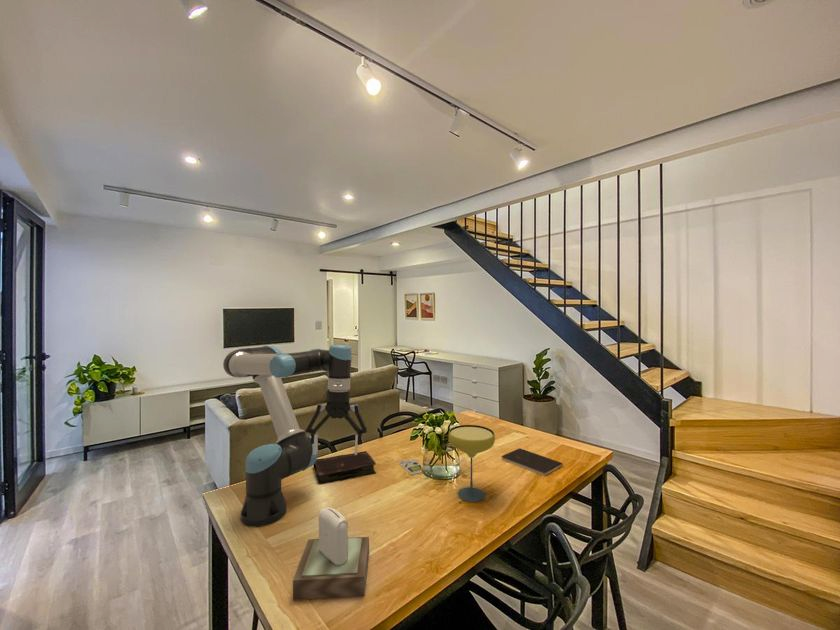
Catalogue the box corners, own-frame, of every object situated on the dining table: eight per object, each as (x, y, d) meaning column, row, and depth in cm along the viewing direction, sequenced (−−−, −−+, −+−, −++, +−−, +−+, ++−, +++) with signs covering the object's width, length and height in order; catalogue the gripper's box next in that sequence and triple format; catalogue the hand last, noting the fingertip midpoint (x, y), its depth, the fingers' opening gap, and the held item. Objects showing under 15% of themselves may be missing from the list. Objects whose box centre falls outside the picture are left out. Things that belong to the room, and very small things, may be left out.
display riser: (293, 599, 90) (292, 578, 90) (308, 555, 106) (308, 538, 106) (364, 595, 92) (364, 575, 91) (369, 553, 107) (369, 535, 107)
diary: (313, 469, 165) (313, 458, 165) (365, 459, 175) (365, 449, 175) (319, 486, 148) (319, 474, 148) (377, 475, 158) (376, 464, 158)
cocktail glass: (502, 504, 134) (502, 438, 134) (456, 510, 130) (456, 442, 130) (483, 481, 152) (484, 423, 151) (443, 486, 148) (443, 426, 147)
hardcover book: (544, 477, 156) (544, 472, 156) (501, 460, 174) (501, 456, 174) (562, 467, 166) (562, 462, 166) (520, 452, 184) (520, 447, 184)
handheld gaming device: (413, 457, 175) (428, 469, 162) (413, 459, 175) (428, 471, 162) (397, 461, 171) (411, 474, 158) (397, 463, 171) (411, 475, 158)
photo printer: (316, 550, 101) (316, 507, 101) (329, 543, 104) (329, 501, 104) (336, 568, 94) (336, 522, 93) (350, 560, 97) (350, 515, 96)
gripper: (298, 391, 117) (295, 457, 116) (375, 392, 120) (372, 457, 118) (303, 388, 124) (300, 449, 123) (375, 389, 127) (373, 450, 126)
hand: (335, 453), depth 121 cm, fingers open, 13 cm apart
